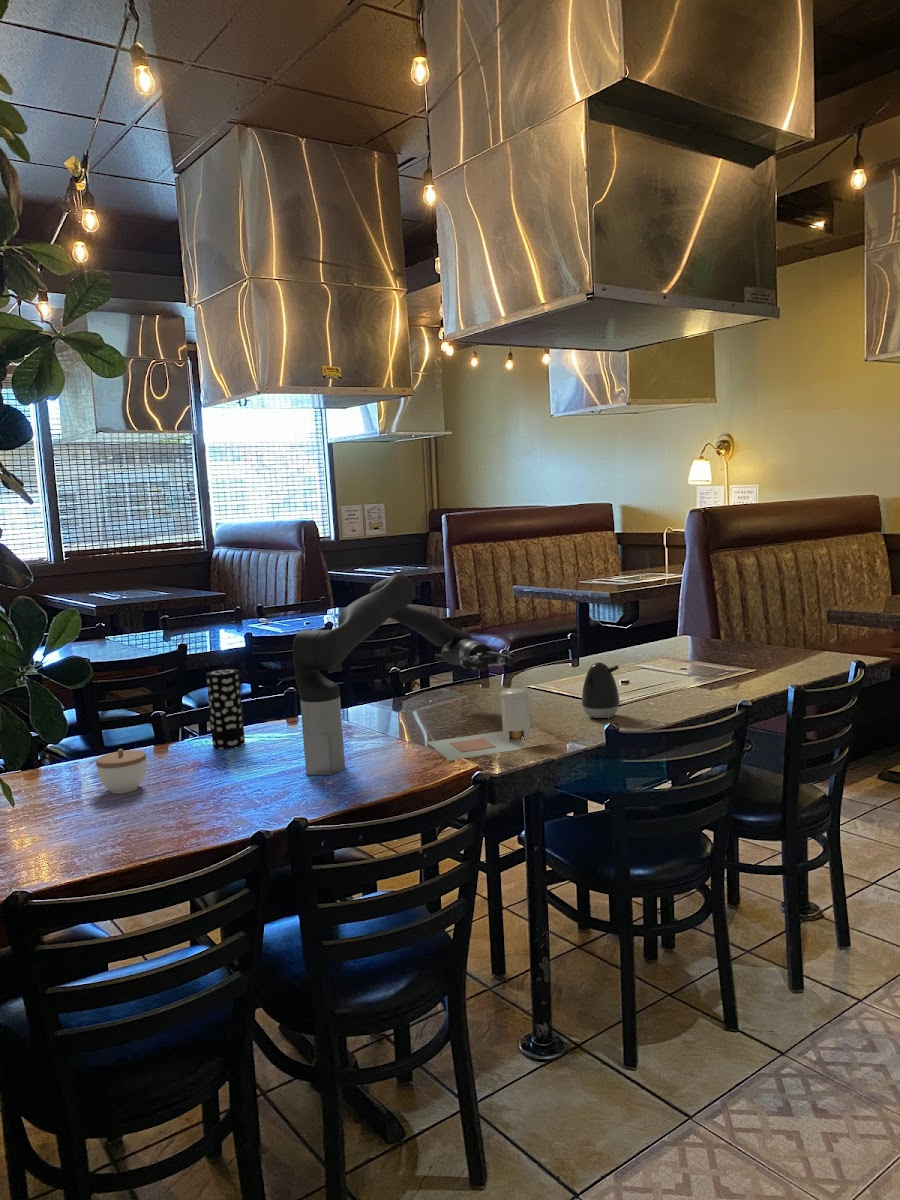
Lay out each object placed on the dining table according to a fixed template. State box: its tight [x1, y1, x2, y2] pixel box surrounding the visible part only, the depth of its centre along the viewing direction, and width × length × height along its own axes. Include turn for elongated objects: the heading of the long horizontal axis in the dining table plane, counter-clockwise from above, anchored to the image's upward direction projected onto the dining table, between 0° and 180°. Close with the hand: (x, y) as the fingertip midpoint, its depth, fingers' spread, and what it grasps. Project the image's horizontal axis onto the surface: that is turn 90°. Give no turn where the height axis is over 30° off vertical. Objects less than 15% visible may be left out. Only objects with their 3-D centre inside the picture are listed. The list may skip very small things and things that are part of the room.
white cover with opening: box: [500, 688, 531, 742], centre depth 220 cm, size 7×7×12 cm
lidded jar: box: [95, 748, 147, 795], centre depth 199 cm, size 11×11×9 cm
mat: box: [427, 730, 524, 763], centre depth 219 cm, size 30×18×1 cm, turn 108°
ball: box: [511, 731, 523, 739], centre depth 220 cm, size 3×3×3 cm
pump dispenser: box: [581, 662, 620, 719], centre depth 238 cm, size 10×10×15 cm
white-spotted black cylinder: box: [206, 668, 246, 750], centre depth 232 cm, size 8×8×20 cm
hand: (497, 664), depth 229 cm, fingers open, 8 cm apart
